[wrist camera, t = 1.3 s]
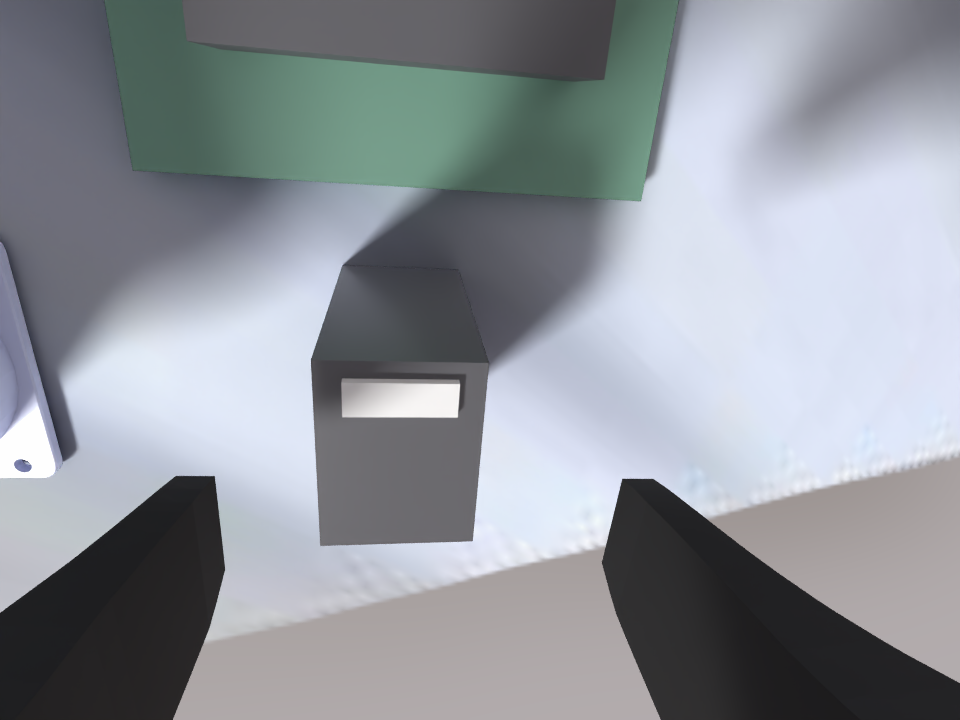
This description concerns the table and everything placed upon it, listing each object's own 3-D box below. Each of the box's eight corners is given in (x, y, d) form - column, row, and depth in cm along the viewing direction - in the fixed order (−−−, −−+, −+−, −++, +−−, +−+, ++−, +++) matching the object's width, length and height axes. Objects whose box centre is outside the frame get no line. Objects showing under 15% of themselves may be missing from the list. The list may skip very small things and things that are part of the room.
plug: (346, 400, 20) (319, 551, 13) (342, 264, 18) (309, 364, 11) (450, 401, 20) (473, 547, 14) (458, 269, 18) (490, 366, 12)
